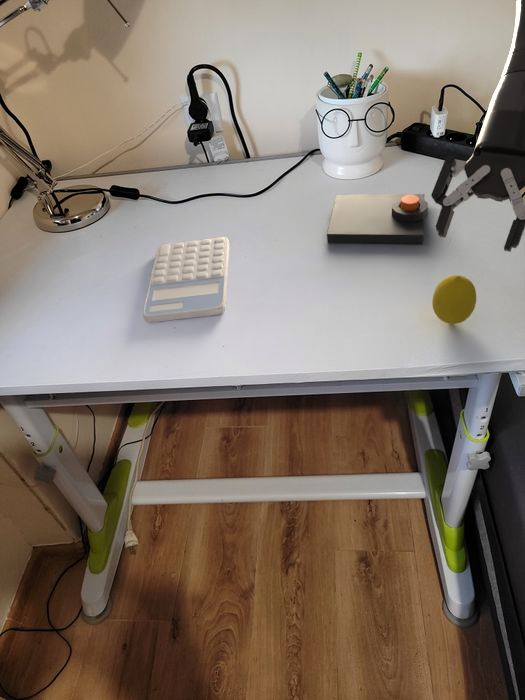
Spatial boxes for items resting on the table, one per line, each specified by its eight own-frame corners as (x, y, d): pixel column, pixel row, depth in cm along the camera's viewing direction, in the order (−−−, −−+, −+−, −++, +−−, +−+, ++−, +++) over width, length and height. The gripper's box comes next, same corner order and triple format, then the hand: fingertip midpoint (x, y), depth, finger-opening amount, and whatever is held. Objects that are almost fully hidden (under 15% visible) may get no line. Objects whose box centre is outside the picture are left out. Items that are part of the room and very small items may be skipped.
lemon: (428, 333, 71) (434, 288, 65) (431, 307, 74) (437, 262, 69) (470, 337, 69) (480, 292, 63) (471, 310, 73) (481, 265, 67)
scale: (426, 203, 93) (428, 185, 91) (425, 244, 85) (427, 226, 82) (336, 203, 97) (335, 187, 95) (327, 243, 89) (326, 226, 86)
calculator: (230, 242, 93) (228, 233, 92) (225, 315, 79) (223, 306, 78) (159, 251, 94) (157, 242, 93) (143, 324, 80) (139, 316, 79)
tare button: (418, 202, 88) (419, 194, 87) (418, 211, 86) (419, 203, 85) (401, 202, 89) (401, 194, 88) (400, 211, 87) (400, 203, 86)
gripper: (456, 102, 65) (415, 225, 67) (579, 113, 59) (530, 249, 61) (463, 126, 72) (426, 238, 74) (575, 138, 65) (531, 260, 68)
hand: (473, 243), depth 67 cm, fingers open, 8 cm apart
